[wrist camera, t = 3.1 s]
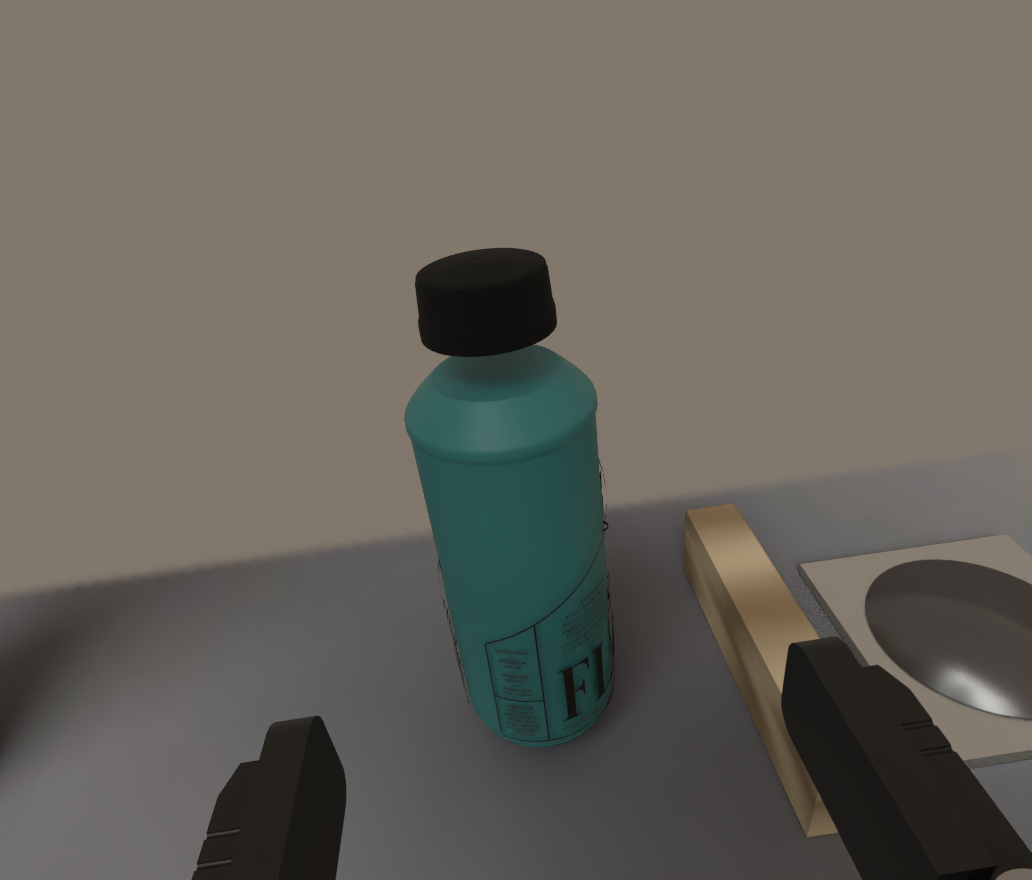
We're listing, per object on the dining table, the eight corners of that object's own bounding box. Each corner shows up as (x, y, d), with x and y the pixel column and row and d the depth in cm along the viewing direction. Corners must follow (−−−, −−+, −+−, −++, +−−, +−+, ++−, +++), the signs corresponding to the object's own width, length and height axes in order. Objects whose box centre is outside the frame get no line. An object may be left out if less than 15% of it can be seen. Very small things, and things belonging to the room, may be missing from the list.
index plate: (1214, 730, 25) (1223, 718, 24) (934, 773, 24) (938, 762, 24) (1002, 542, 34) (1006, 532, 34) (798, 572, 34) (800, 562, 33)
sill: (875, 826, 23) (898, 761, 21) (806, 837, 23) (822, 772, 21) (728, 561, 35) (733, 503, 33) (683, 568, 35) (685, 510, 33)
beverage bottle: (579, 803, 25) (529, 310, 14) (440, 734, 28) (316, 289, 17) (639, 674, 29) (634, 231, 19) (514, 628, 33) (451, 226, 22)
